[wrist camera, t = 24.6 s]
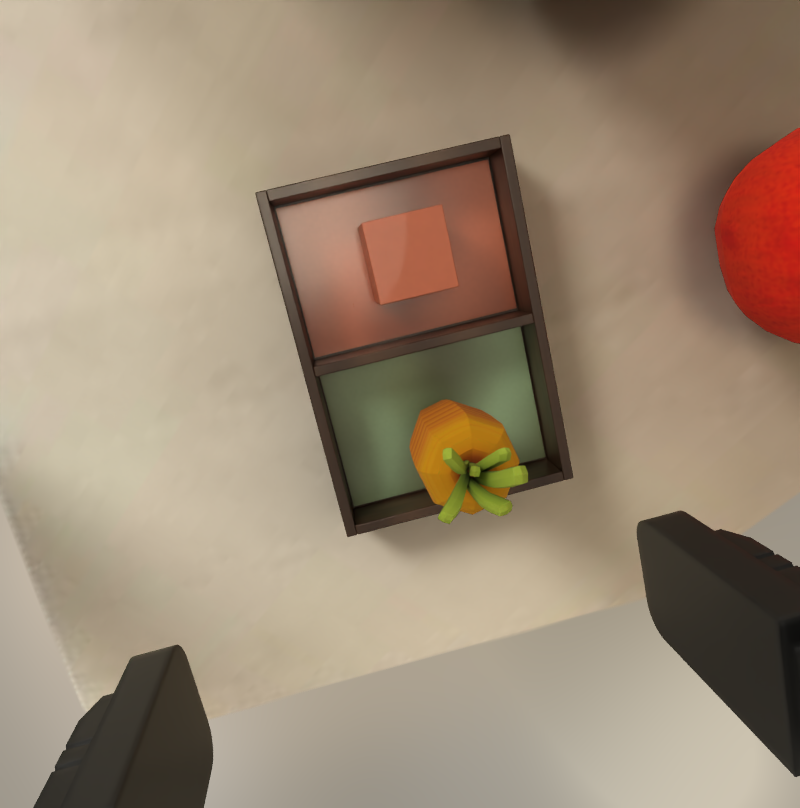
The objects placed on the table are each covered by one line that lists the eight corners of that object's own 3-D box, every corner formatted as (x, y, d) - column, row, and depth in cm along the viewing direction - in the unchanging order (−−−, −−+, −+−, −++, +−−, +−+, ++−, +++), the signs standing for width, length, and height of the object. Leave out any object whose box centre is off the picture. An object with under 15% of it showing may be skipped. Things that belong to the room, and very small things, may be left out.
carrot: (397, 460, 42) (435, 561, 27) (392, 382, 41) (428, 443, 26) (475, 453, 42) (554, 548, 28) (472, 375, 41) (551, 432, 27)
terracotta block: (375, 302, 40) (380, 305, 36) (357, 227, 39) (360, 222, 35) (446, 285, 40) (459, 286, 36) (430, 210, 39) (442, 203, 35)
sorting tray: (345, 516, 43) (347, 537, 40) (261, 199, 39) (255, 192, 35) (554, 461, 44) (573, 478, 40) (493, 145, 40) (509, 133, 36)
